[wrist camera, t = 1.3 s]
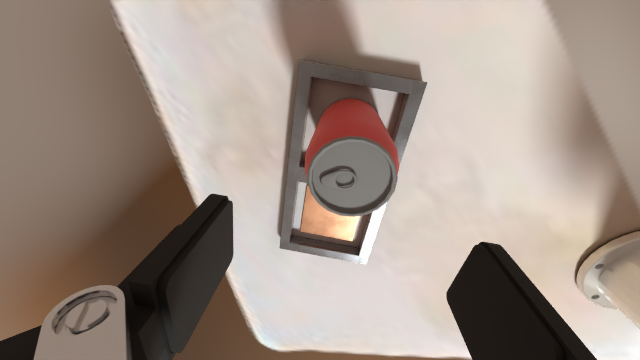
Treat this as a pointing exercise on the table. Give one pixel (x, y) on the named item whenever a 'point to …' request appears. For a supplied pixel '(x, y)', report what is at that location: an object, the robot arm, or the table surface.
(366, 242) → the gray rectangular frame
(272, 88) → the table surface
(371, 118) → the beer can
